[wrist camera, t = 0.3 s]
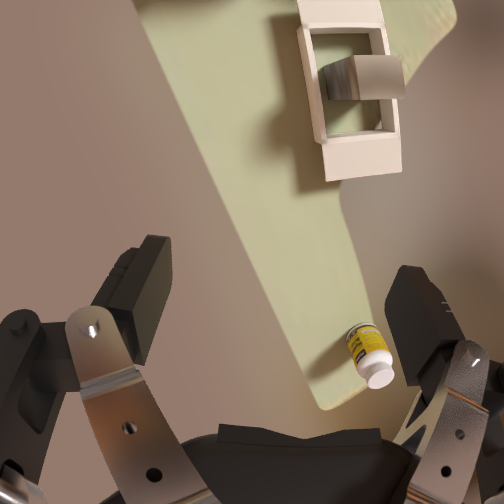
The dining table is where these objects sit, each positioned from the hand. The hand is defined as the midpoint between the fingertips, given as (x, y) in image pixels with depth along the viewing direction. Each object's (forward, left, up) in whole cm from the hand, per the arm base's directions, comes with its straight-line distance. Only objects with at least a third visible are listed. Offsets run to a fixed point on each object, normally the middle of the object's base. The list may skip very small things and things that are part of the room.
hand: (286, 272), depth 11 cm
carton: (-7, +12, -27) cm, 30 cm away
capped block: (-7, +12, -27) cm, 30 cm away
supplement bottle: (+30, +12, -27) cm, 42 cm away
